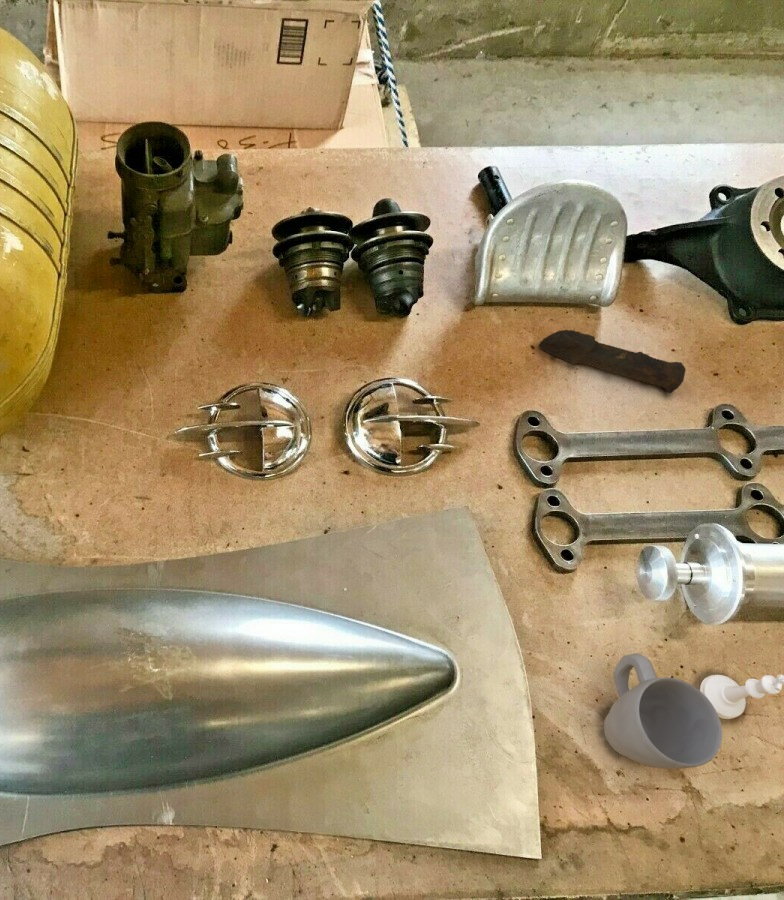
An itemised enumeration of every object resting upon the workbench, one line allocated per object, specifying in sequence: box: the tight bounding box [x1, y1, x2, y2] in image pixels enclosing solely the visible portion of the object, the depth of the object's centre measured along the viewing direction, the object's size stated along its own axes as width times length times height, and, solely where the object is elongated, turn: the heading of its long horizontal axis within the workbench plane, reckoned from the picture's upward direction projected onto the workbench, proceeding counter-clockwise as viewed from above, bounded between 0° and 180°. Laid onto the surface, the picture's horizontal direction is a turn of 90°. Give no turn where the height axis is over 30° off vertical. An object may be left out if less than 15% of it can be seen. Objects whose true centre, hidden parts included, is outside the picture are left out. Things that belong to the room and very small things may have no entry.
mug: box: [603, 652, 723, 770], centre depth 85 cm, size 12×9×10 cm
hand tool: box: [538, 329, 687, 394], centre depth 110 cm, size 19×4×5 cm, turn 70°
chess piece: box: [699, 673, 784, 720], centre depth 87 cm, size 5×5×10 cm
